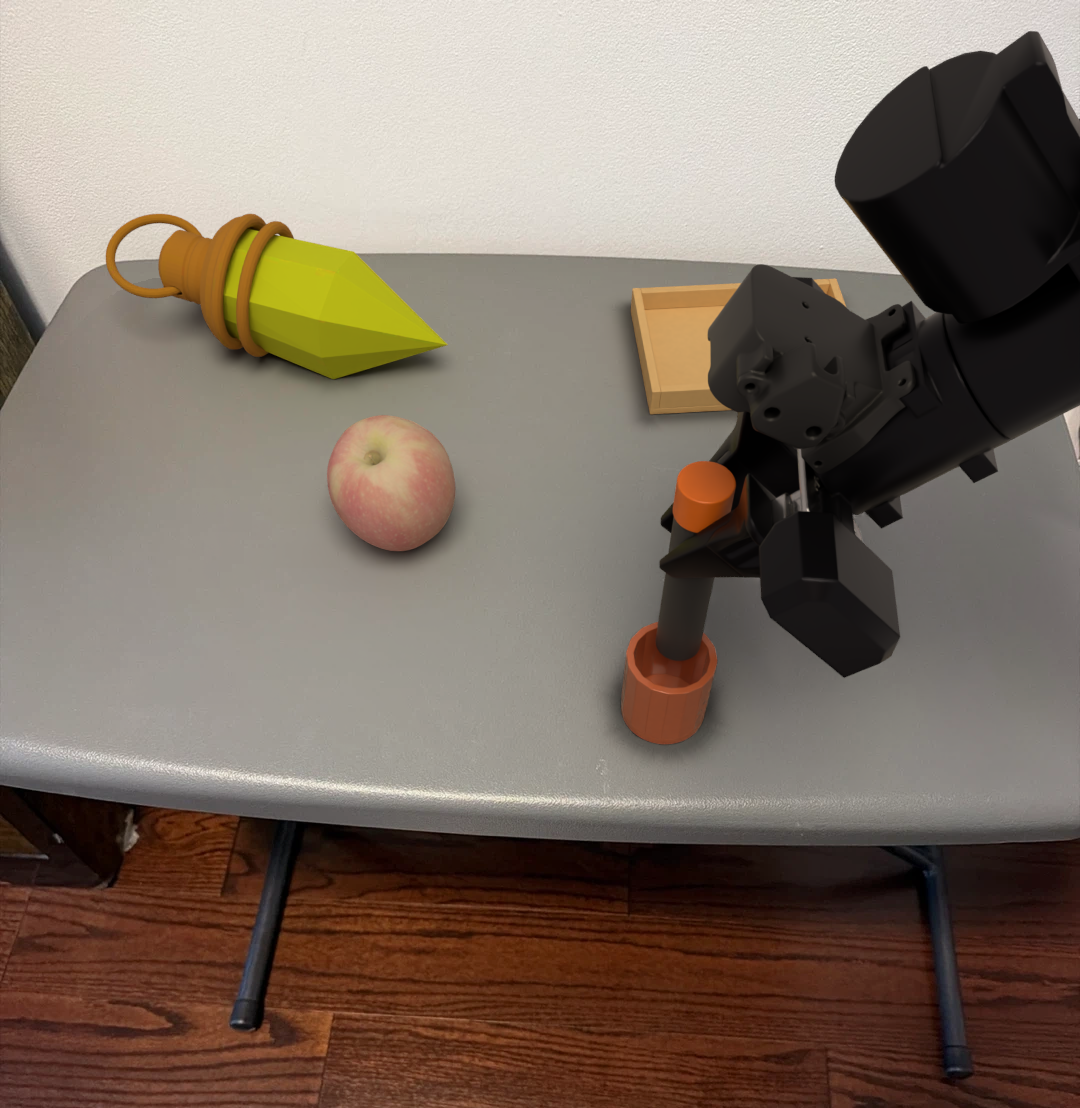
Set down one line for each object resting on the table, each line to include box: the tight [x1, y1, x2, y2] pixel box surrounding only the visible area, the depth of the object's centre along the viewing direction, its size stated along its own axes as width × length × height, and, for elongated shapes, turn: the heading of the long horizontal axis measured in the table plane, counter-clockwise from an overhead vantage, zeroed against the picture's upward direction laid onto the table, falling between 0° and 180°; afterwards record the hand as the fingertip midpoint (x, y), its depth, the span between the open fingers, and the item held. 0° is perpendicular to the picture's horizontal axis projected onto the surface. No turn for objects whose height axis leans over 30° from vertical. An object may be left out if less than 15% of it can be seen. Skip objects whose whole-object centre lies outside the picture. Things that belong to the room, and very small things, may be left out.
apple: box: [326, 414, 457, 552], centre depth 66 cm, size 8×8×8 cm
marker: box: [655, 460, 736, 661], centre depth 53 cm, size 3×3×12 cm
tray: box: [630, 278, 848, 415], centre depth 77 cm, size 15×11×2 cm
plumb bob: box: [105, 213, 449, 380], centre depth 75 cm, size 9×9×25 cm
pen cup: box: [620, 621, 718, 745], centre depth 60 cm, size 5×5×5 cm
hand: (665, 547), depth 51 cm, fingers closed on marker, 2 cm apart
